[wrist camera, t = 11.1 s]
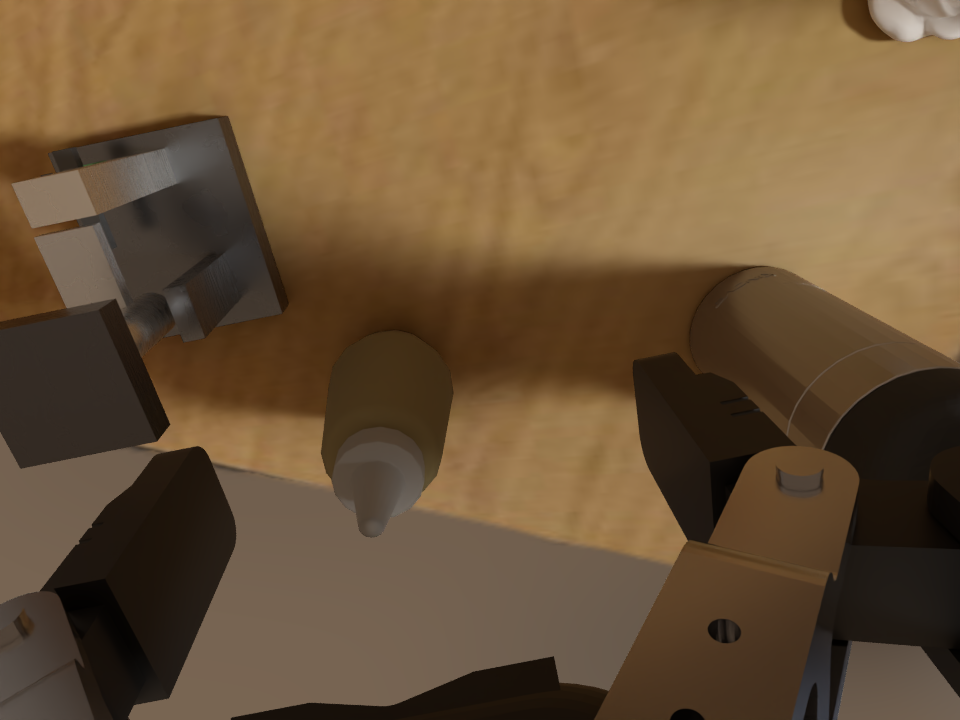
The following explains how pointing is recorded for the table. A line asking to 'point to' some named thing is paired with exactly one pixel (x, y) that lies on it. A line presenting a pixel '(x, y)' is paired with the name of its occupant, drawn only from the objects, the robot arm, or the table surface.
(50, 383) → the dark grey blocky piece
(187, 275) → the frame
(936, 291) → the table surface
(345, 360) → the squeeze bottle
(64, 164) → the peak pointer
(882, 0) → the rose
